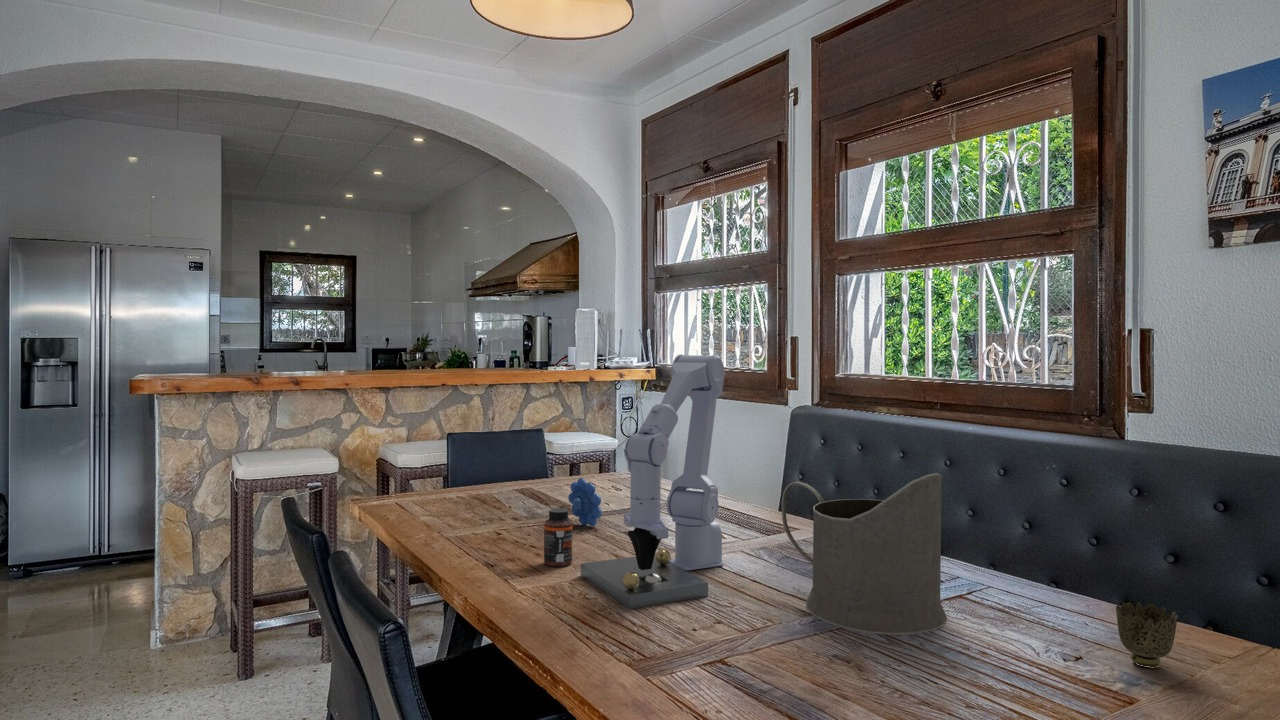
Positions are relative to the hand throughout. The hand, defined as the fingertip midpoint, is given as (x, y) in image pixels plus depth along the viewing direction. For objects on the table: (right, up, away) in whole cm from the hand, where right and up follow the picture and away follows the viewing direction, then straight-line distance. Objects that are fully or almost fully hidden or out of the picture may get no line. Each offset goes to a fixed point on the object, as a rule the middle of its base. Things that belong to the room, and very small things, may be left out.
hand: (645, 568), depth 144 cm
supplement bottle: (-18, -4, +16) cm, 24 cm away
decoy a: (+4, 0, +7) cm, 8 cm away
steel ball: (+2, -2, -3) cm, 4 cm away
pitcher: (+37, -4, -9) cm, 38 cm away
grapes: (-16, -3, +51) cm, 53 cm away
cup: (+72, -5, -35) cm, 80 cm away
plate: (-1, -4, +1) cm, 4 cm away
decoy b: (-3, 0, -9) cm, 9 cm away
